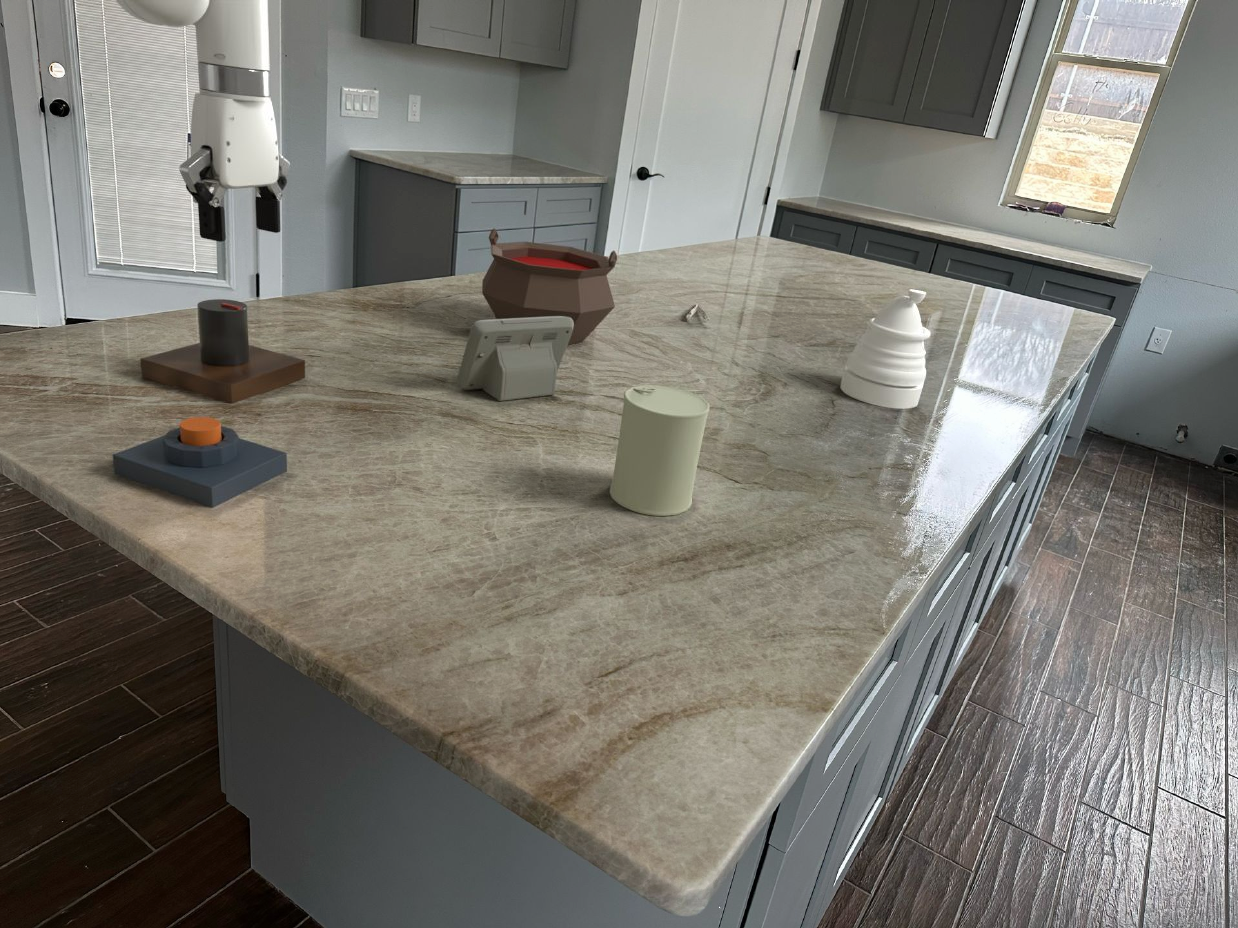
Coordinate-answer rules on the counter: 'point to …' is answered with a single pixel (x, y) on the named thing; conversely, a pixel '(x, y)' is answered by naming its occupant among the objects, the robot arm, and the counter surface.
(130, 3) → the robot arm
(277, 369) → the swivel stand
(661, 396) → the can
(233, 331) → the dark grey cylinder
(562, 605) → the counter surface
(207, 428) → the alarm button
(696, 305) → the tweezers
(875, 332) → the honey pot
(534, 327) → the digital clock
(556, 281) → the brown cauldron
